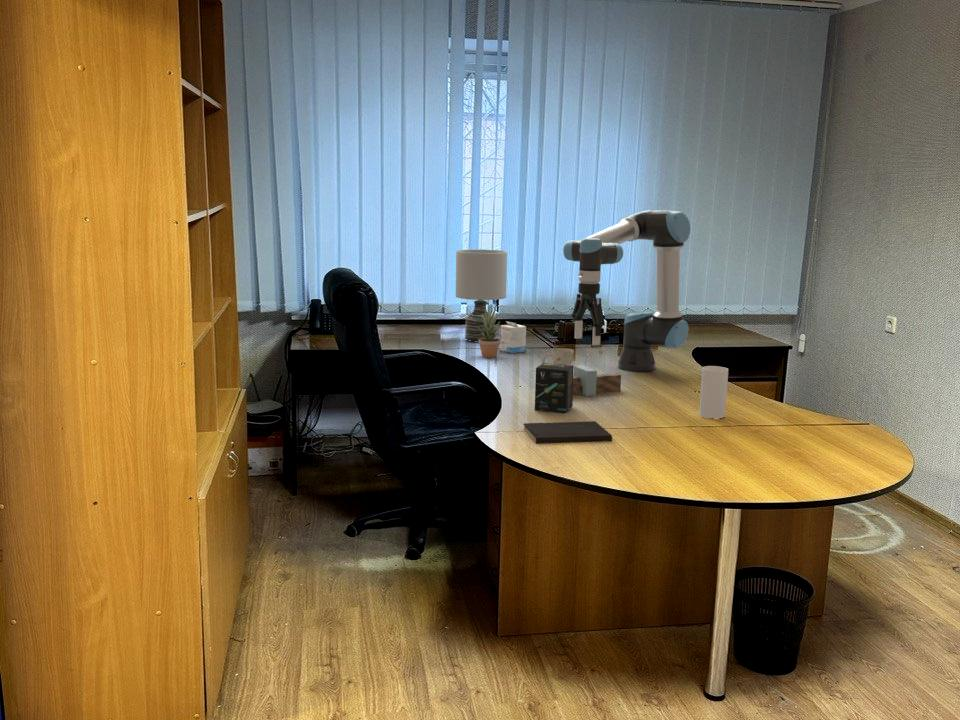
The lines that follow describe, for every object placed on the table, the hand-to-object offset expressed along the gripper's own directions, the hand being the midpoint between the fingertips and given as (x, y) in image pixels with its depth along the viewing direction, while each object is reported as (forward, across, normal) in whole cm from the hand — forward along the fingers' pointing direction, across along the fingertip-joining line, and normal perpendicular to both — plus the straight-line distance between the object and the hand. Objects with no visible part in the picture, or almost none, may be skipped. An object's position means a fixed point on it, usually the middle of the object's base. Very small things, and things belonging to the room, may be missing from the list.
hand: (586, 341), depth 317 cm
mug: (+19, -30, +4) cm, 36 cm away
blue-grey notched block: (+19, 0, 0) cm, 19 cm away
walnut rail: (+19, 0, 0) cm, 19 cm away
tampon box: (+19, +18, -22) cm, 34 cm away
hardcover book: (+19, +48, -32) cm, 61 cm away
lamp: (+19, -112, +3) cm, 114 cm away
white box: (+19, -82, +7) cm, 84 cm away
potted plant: (+19, -74, -8) cm, 76 cm away
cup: (+19, +42, +24) cm, 53 cm away
